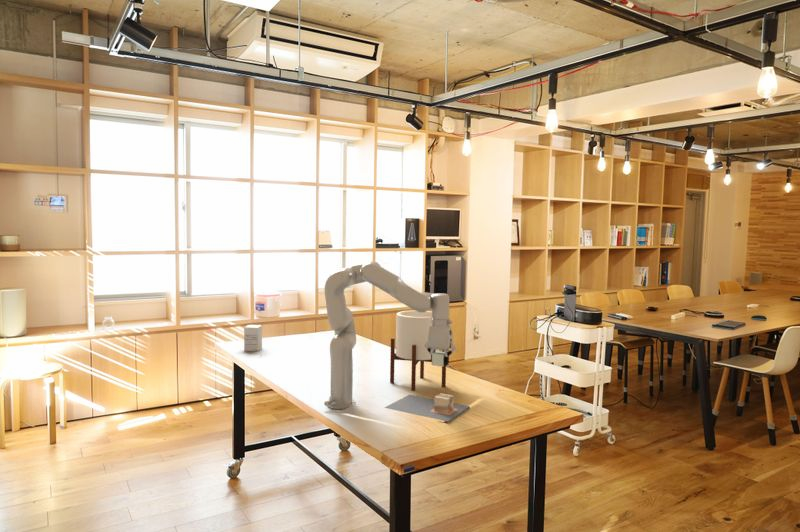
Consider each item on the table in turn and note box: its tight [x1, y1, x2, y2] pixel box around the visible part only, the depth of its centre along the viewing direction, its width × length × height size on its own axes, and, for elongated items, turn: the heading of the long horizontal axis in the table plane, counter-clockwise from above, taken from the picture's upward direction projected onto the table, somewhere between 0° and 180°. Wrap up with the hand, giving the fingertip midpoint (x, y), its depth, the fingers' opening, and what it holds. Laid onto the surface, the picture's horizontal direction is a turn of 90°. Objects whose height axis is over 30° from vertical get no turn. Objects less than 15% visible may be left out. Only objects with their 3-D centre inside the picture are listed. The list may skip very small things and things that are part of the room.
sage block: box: [431, 351, 445, 368], centre depth 233 cm, size 5×5×5 cm
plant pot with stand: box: [389, 309, 447, 392], centre depth 270 cm, size 22×22×36 cm
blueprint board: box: [384, 394, 471, 424], centre depth 235 cm, size 22×30×1 cm
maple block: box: [434, 392, 455, 413], centre depth 231 cm, size 6×6×6 cm
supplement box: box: [243, 324, 263, 352], centre depth 342 cm, size 9×9×15 cm
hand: (439, 364), depth 233 cm, fingers closed on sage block, 4 cm apart
